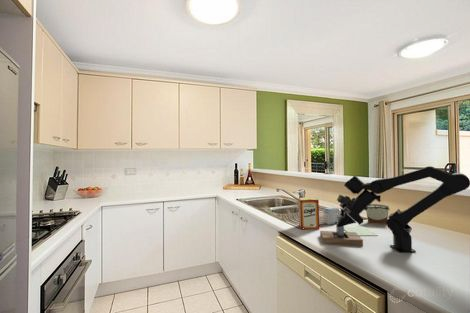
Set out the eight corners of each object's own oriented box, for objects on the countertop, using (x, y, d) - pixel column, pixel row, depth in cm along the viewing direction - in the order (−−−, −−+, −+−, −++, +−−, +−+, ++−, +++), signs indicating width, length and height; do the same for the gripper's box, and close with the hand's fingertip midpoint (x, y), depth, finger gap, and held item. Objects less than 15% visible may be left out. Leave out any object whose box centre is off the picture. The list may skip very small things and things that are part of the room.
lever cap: (346, 243, 103) (345, 217, 103) (336, 242, 103) (336, 217, 103) (343, 239, 107) (343, 214, 107) (334, 238, 108) (333, 214, 108)
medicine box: (333, 221, 137) (333, 206, 137) (339, 223, 132) (339, 208, 132) (323, 222, 134) (322, 207, 134) (328, 224, 130) (328, 209, 130)
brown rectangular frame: (362, 246, 99) (362, 240, 99) (323, 243, 102) (323, 238, 102) (356, 237, 109) (356, 232, 109) (320, 236, 112) (320, 230, 112)
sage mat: (377, 235, 110) (377, 235, 110) (352, 236, 111) (352, 235, 111) (363, 226, 124) (363, 226, 124) (340, 227, 125) (340, 226, 125)
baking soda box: (301, 229, 123) (300, 199, 123) (298, 225, 130) (298, 197, 130) (319, 229, 122) (318, 199, 122) (316, 225, 129) (315, 197, 129)
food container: (386, 221, 133) (385, 204, 133) (390, 224, 127) (389, 206, 127) (362, 220, 136) (362, 203, 136) (365, 223, 130) (364, 205, 130)
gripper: (343, 186, 114) (320, 207, 116) (354, 192, 95) (326, 217, 98) (361, 202, 112) (337, 224, 114) (375, 211, 94) (346, 237, 96)
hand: (336, 225), depth 106 cm, fingers closed on lever cap, 3 cm apart
